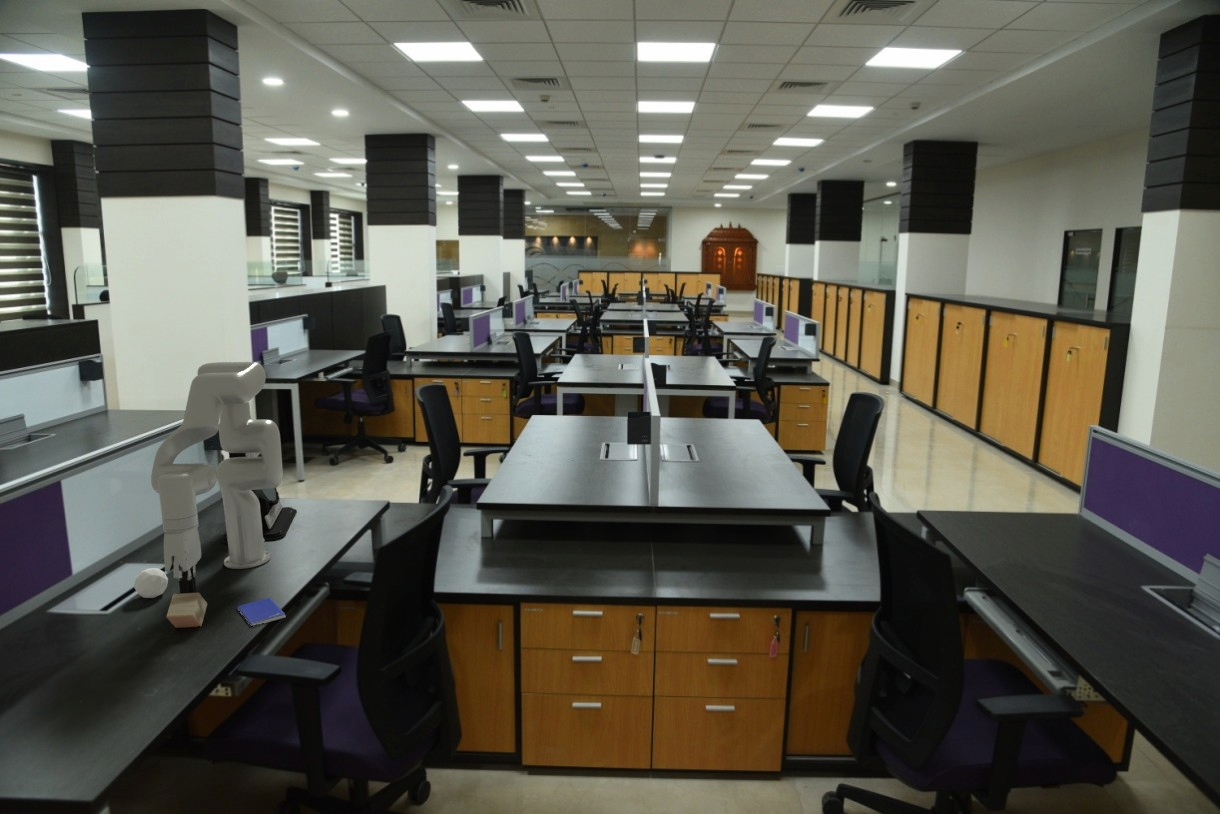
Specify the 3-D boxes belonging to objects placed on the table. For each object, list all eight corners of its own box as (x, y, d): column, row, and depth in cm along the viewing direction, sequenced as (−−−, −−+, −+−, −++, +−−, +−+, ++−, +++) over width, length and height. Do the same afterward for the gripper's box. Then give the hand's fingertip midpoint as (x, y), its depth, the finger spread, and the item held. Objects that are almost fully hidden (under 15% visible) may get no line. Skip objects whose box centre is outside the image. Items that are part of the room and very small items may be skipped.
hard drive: (285, 613, 196) (270, 597, 205) (250, 623, 191) (237, 605, 200) (286, 619, 196) (271, 602, 205) (251, 629, 191) (237, 611, 200)
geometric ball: (159, 607, 208) (159, 590, 203) (128, 598, 207) (127, 582, 202) (173, 583, 214) (173, 567, 209) (143, 575, 213) (142, 558, 208)
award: (283, 540, 249) (274, 449, 243) (219, 545, 245) (209, 452, 239) (298, 510, 278) (290, 428, 272) (241, 514, 274) (232, 431, 268)
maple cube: (173, 593, 190) (166, 617, 186) (199, 592, 191) (192, 615, 187) (182, 604, 195) (175, 627, 191) (207, 603, 195) (201, 626, 191)
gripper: (177, 513, 195) (185, 582, 199) (149, 533, 181) (158, 607, 184) (209, 512, 196) (216, 581, 199) (183, 531, 182) (191, 606, 185)
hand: (188, 593), depth 192 cm, fingers closed
